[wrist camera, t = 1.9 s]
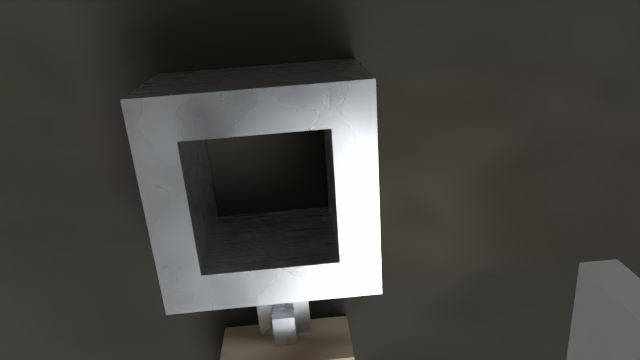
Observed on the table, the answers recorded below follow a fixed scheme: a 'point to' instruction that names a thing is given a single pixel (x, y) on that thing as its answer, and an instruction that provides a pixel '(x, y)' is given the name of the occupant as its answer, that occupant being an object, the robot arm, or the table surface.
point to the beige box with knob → (307, 356)
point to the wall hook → (284, 321)
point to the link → (267, 227)
